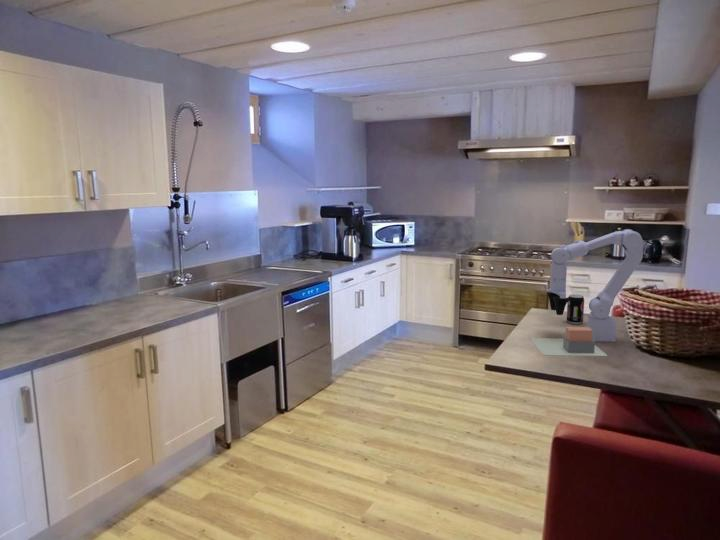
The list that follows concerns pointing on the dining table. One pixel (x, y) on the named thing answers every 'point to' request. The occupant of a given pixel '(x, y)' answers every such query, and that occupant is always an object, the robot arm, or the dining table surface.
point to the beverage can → (575, 309)
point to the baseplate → (559, 347)
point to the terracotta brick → (579, 334)
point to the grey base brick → (578, 346)
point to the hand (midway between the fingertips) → (556, 312)
